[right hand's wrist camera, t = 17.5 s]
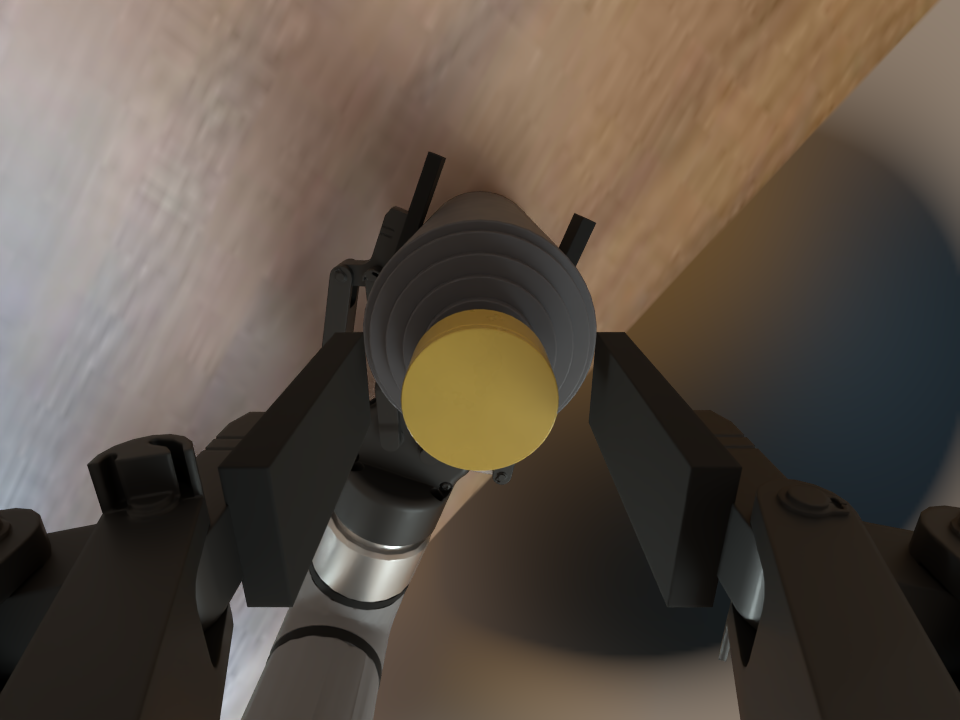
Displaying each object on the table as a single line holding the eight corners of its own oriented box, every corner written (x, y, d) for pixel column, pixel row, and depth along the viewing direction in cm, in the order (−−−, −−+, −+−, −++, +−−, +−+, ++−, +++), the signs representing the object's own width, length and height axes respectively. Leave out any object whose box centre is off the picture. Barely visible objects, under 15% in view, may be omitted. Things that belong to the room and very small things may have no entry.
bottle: (407, 209, 34) (276, 286, 12) (522, 177, 33) (605, 198, 11) (440, 319, 37) (383, 545, 15) (547, 291, 36) (653, 487, 14)
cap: (499, 459, 15) (501, 495, 14) (384, 395, 14) (372, 424, 13) (577, 356, 14) (590, 381, 12) (457, 280, 13) (454, 296, 12)
